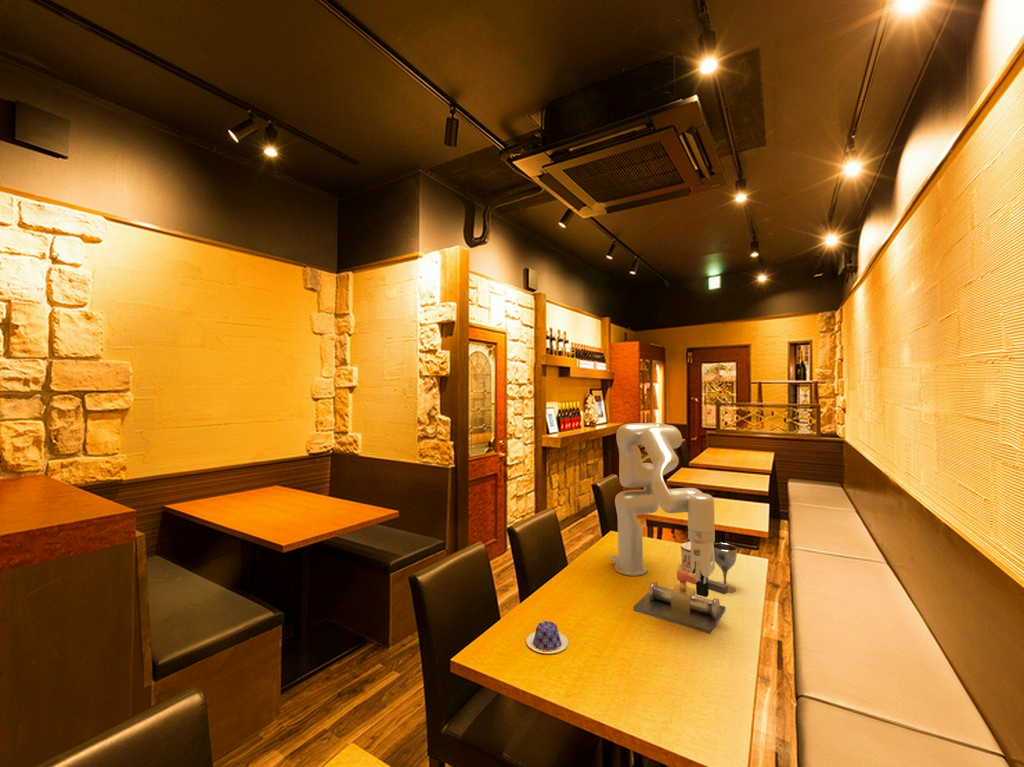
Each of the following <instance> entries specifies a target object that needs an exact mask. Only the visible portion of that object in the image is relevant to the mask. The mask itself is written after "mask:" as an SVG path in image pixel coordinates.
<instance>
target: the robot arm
mask: <svg viewBox="0 0 1024 767" xmlns="http://www.w3.org/2000/svg"><path fill="white" fill-rule="evenodd" d="M615 437H616V438H615V439H616V444H617V448H618V454H619V456H618V458H619V460H618V462H619V464H618V467H619V468H618V469H619V470H618V475H619V477H618V478H619V484H620V485H621V486H622V487H624V488H627V489H629V490H623V491H620V492H618V493H617V494H616V495H615V499H614V505H615V509H616V514H617V515H616V516H617V539H618V540H617V545H618V546H617V549H618V550H617V552H618V553H617V554H618V555H616V554H613V553H610V554H609V561H610V562H614V563H615V564H614V570H615V571H616V572H617V573H619V574H621V575H624V576H629V577H630V576H632V577H639V576H644V575H645V574H647V573H648V568H647V566H646V565H645V564H644V553H643V551H644V550H643V544H644V543H643V542H644V541H643V525H642V522H641V521H640V520H639V519H638V517H637V516H638V515H647V514H654V513H657V511H658V510H659V507H660V508H661V510H662V511H663V512H664V513H667V514H679V513H680V514H681V513H687V535H688V536H687V539H688V540H689V541H690V540H691V557H690V565H691V572H690V574H692V575H695V580H696V585H695V595H696V596H698V597H702V598H707V597H708V596H709V594H710V593H709V592H710V590H709V585H708V579H709V578H710V577H709V576H711V574H712V573H713V572H714V570H715V569H716V562H715V556H714V544H715V543H716V542H715V541H716V540H715V539H716V537H715V536H716V535H715V533H716V532H715V526H716V525H715V499H714V497H713V496H712V495H711V494H708V493H705V492H702V491H701V490H700V489H698V488H696V487H683V488H682V487H680V488H668V486H667V484H666V482H665V479H664V476H665V475H666V474H669V473H670V472H671V471H673V470H675V469H676V468H677V466H678V465H679V462H680V461H679V457H678V455H677V454H676V452H675V451H674V449H678V448H679V447H681V446H682V443H683V436H682V433H681V431H680V430H679V429H678V428H677V427H676V426H674V425H671V424H665V423H660V422H645V423H644V422H637V423H636V422H635V423H625V424H623V425H620V426H619V427H618V429H617V431H616V436H615ZM639 446H643V447H644V449H645V450H646V453H647V455H648V457H649V459H650V461H651V462H642V453H641V450H640V448H639ZM634 488H635V489H634ZM637 488H643V489H637ZM630 489H632V490H630Z"/></svg>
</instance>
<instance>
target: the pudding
mask: <svg viewBox="0 0 1024 767" xmlns="http://www.w3.org/2000/svg"><path fill="white" fill-rule="evenodd" d="M560 639H561V640H560ZM562 643H563V644H562ZM532 644H533V645H534V646H535V647H536V648H538V649H539V650H538V649H536V648H535V647H533V645H532ZM526 645H527V646H528V648H530V649H531V650H532V651H535V652H537V653H541V654H557V653H560V652H562V651H563V650H565V649H566V648H567V647H568V645H569V639H568V638H567V636H566V635H564V634H563V633H561V632H559V629H558V626H557V624H556V623H554V622H553V621H547V620H544V621H541V622H539V623H538V624H537V626H536V628H535V632H532V633H530V634H529V635H528V637H527V638H526ZM561 646H562V647H561ZM559 648H560V649H559ZM542 649H543V650H545V651H552V652H543V650H542ZM557 649H558V650H557ZM540 650H542V651H540ZM554 650H556V651H554Z"/></svg>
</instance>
